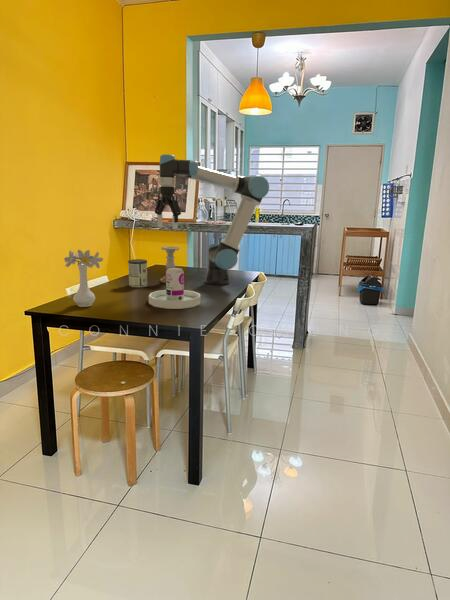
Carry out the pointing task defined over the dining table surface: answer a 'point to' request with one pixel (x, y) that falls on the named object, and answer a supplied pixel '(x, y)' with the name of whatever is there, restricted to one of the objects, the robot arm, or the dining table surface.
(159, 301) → the ceramic bowl
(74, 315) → the dining table surface
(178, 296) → the supplement can
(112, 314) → the dining table surface
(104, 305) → the dining table surface
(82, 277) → the flower vase
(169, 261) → the candle holder
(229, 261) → the robot arm
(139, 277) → the coffee can
